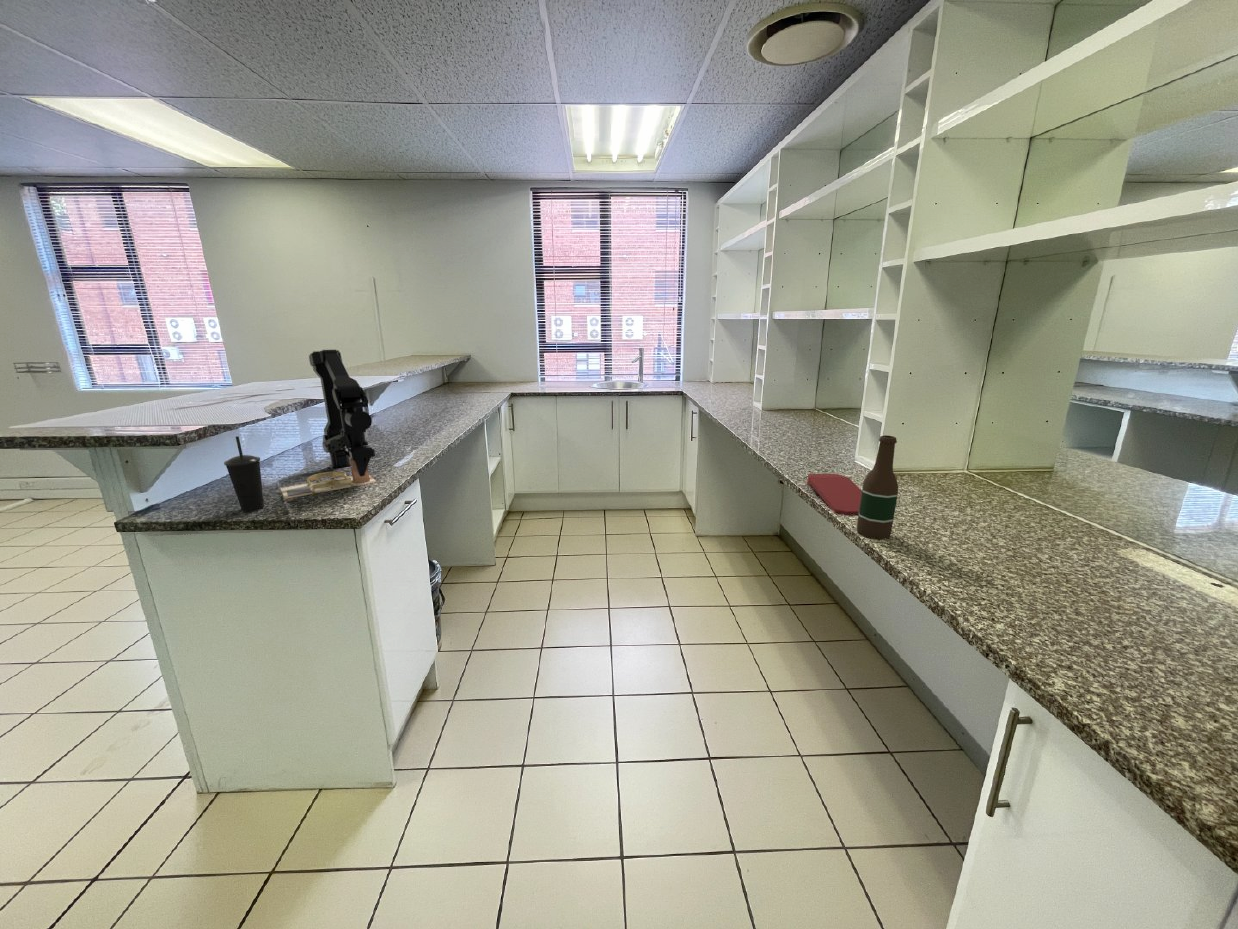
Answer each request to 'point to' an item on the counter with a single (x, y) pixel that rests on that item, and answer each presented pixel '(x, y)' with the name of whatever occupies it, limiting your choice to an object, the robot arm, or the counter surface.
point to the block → (355, 473)
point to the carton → (837, 492)
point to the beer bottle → (879, 494)
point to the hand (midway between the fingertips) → (360, 474)
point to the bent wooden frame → (330, 482)
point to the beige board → (306, 490)
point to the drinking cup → (246, 480)
